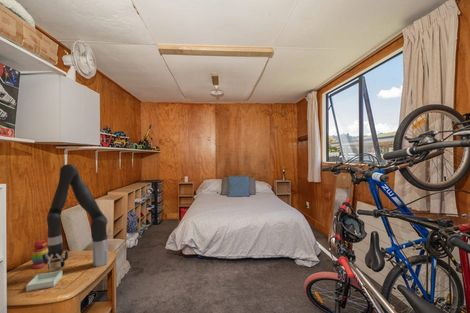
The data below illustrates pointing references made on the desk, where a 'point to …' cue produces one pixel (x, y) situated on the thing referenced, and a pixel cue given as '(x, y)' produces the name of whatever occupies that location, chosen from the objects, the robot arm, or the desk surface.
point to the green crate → (44, 280)
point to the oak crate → (55, 265)
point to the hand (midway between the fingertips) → (56, 267)
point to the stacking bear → (39, 254)
